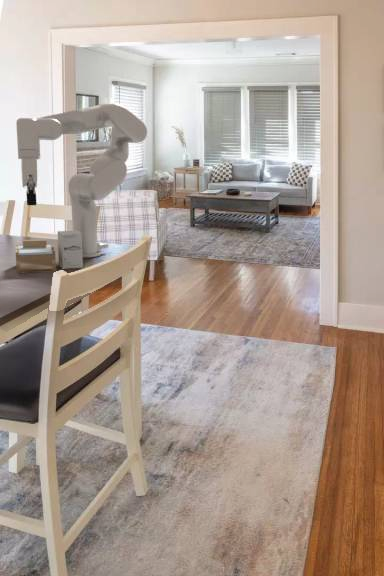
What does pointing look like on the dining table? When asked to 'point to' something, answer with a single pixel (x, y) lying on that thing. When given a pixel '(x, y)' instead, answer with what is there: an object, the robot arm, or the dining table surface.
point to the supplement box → (70, 249)
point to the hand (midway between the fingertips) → (31, 203)
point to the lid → (35, 247)
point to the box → (35, 262)
